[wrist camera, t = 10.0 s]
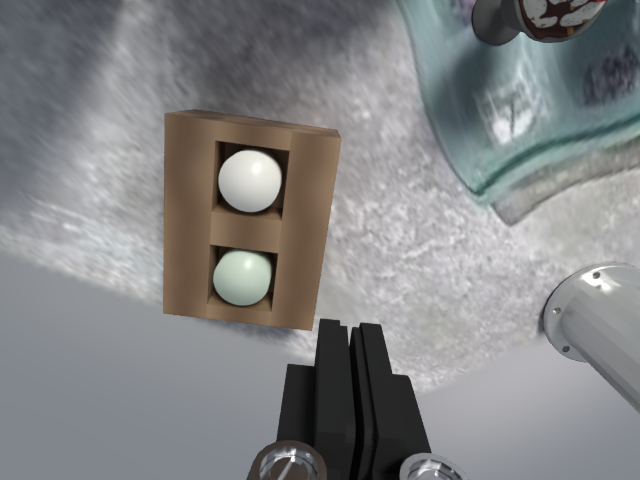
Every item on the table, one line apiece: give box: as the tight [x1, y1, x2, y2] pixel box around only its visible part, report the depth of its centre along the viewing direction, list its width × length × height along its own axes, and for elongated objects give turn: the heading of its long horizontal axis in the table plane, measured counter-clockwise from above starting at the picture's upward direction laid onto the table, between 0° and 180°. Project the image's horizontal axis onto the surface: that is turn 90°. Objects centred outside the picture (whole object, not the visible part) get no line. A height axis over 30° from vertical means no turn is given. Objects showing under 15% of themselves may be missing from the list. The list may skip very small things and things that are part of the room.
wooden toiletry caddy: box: [163, 109, 341, 331], centre depth 39 cm, size 14×18×8 cm
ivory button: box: [219, 146, 283, 212], centre depth 35 cm, size 5×5×4 cm
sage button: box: [213, 247, 274, 305], centre depth 38 cm, size 5×5×4 cm
